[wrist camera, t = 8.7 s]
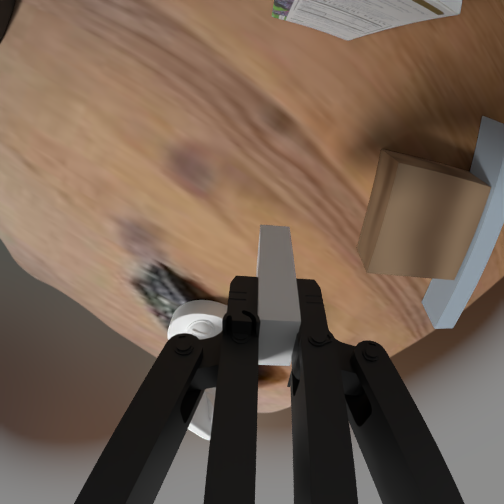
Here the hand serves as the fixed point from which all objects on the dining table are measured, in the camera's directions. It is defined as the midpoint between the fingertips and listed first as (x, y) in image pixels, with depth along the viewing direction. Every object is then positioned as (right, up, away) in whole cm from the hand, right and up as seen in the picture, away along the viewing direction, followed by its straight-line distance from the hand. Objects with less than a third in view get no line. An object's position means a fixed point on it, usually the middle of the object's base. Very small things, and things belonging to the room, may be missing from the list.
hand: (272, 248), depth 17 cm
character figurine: (-6, -9, +17) cm, 20 cm away
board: (+19, +3, +7) cm, 20 cm away
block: (+13, +4, +8) cm, 15 cm away
